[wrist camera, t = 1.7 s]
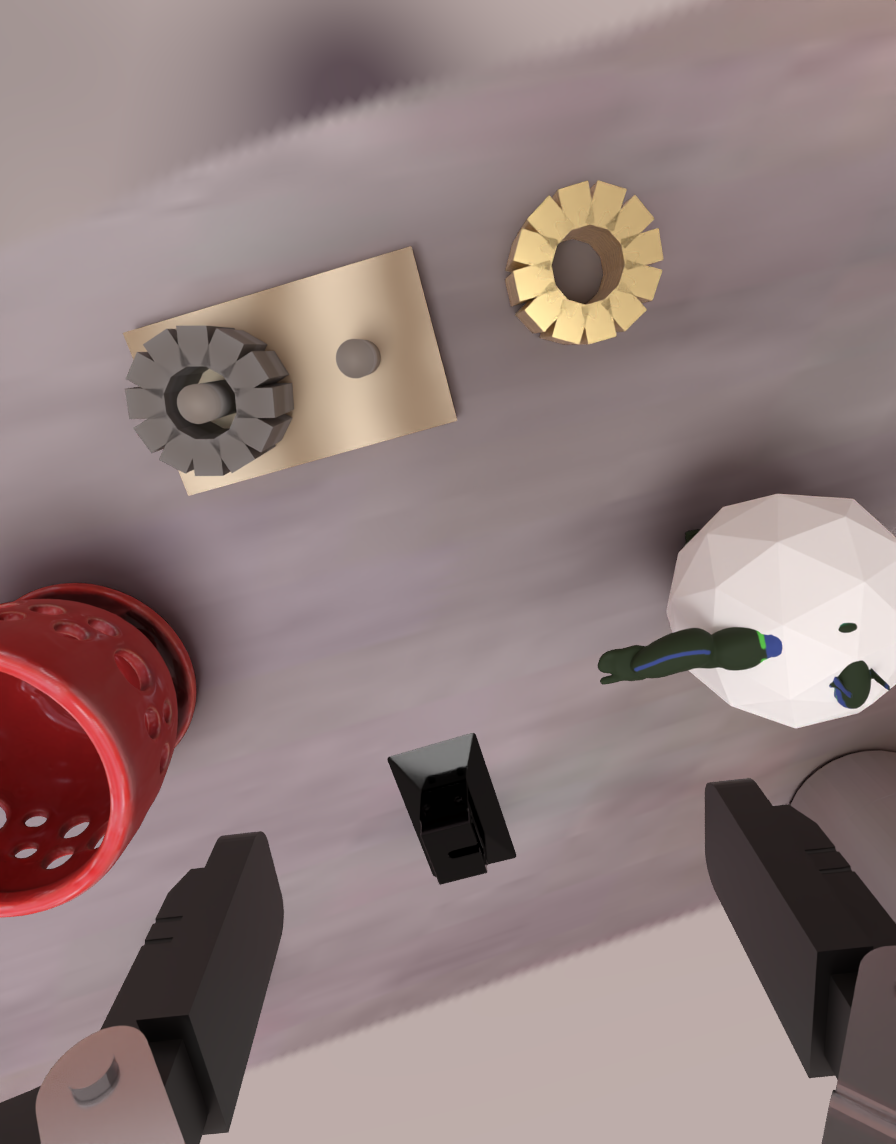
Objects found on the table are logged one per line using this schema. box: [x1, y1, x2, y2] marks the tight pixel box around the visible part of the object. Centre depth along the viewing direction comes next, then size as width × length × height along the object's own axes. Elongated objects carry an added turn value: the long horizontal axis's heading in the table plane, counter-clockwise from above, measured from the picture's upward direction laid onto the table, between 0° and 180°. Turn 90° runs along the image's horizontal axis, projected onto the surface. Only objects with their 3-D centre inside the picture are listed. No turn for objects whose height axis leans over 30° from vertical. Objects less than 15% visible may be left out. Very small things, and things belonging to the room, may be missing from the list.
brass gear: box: [505, 181, 663, 345], centre depth 30 cm, size 6×6×4 cm
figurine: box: [598, 494, 896, 728], centre depth 30 cm, size 18×10×13 cm, turn 104°
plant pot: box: [0, 583, 196, 917], centre depth 33 cm, size 13×13×12 cm
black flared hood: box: [388, 733, 516, 885], centre depth 40 cm, size 12×7×5 cm, turn 17°
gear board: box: [123, 246, 457, 496], centre depth 31 cm, size 14×8×6 cm, turn 105°
